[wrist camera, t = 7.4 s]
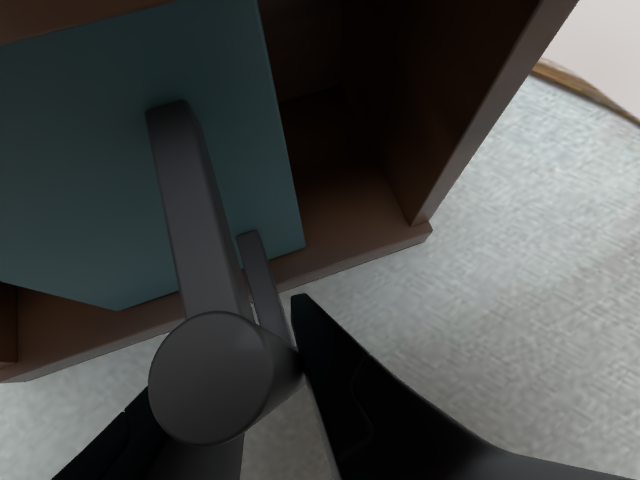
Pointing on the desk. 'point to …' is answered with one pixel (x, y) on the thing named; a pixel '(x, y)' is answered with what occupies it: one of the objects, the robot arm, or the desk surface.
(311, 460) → the desk surface
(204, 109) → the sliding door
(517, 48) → the cabinet
